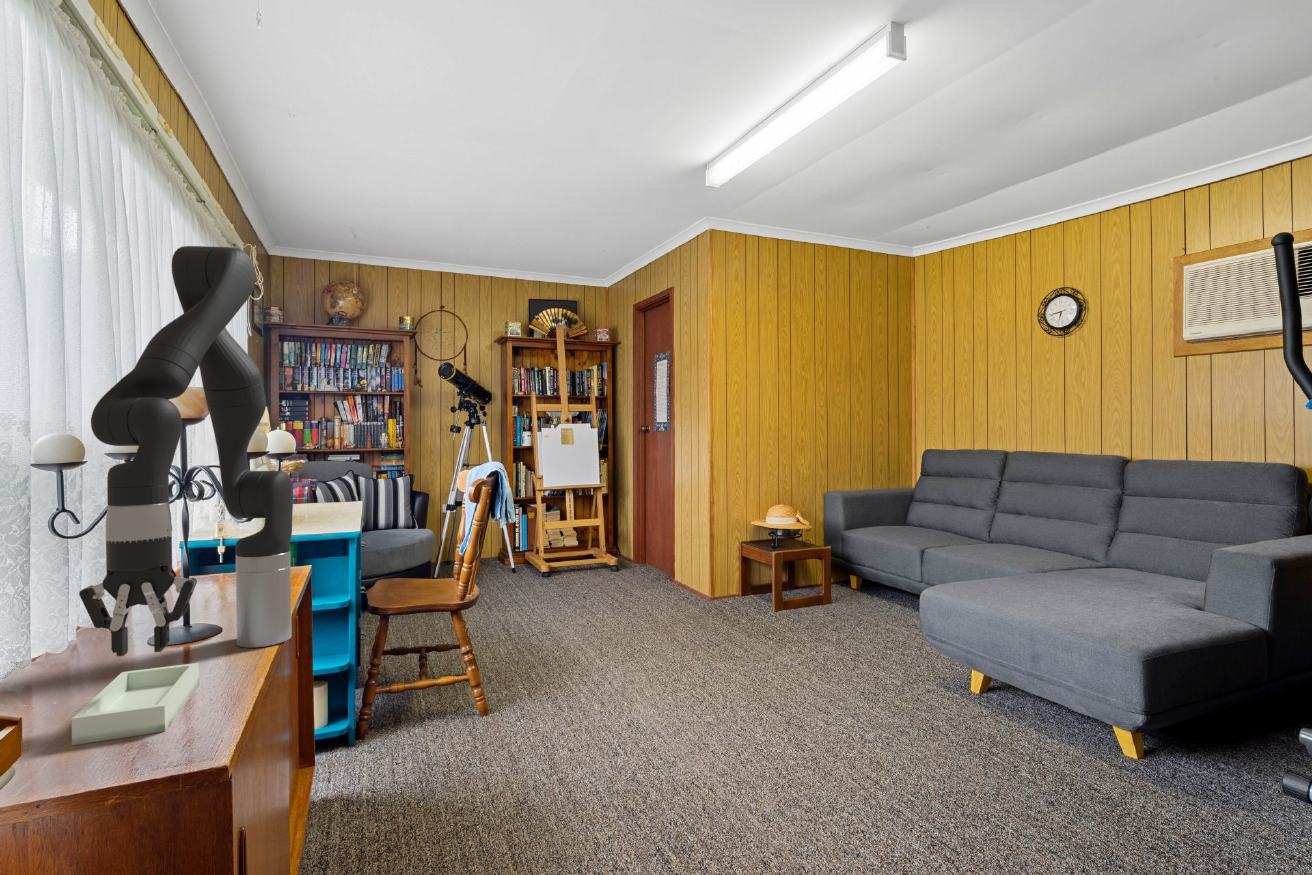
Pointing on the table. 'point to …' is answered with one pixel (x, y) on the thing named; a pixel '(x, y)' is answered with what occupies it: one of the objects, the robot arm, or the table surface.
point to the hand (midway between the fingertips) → (141, 651)
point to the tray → (136, 704)
